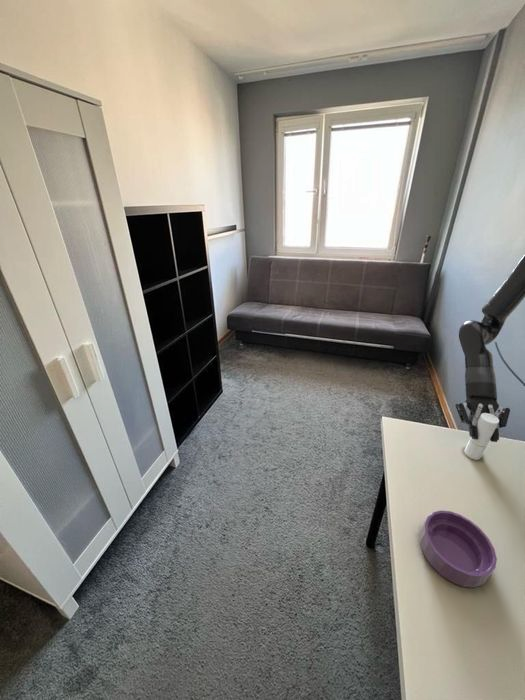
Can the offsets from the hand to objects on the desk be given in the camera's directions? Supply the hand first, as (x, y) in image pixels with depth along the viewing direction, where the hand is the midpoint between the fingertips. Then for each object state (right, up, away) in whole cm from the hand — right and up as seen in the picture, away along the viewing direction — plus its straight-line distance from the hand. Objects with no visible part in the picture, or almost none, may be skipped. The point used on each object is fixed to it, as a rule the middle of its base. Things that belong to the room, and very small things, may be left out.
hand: (484, 440), depth 82 cm
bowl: (-22, -20, -18) cm, 35 cm away
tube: (+1, -6, +6) cm, 8 cm away
